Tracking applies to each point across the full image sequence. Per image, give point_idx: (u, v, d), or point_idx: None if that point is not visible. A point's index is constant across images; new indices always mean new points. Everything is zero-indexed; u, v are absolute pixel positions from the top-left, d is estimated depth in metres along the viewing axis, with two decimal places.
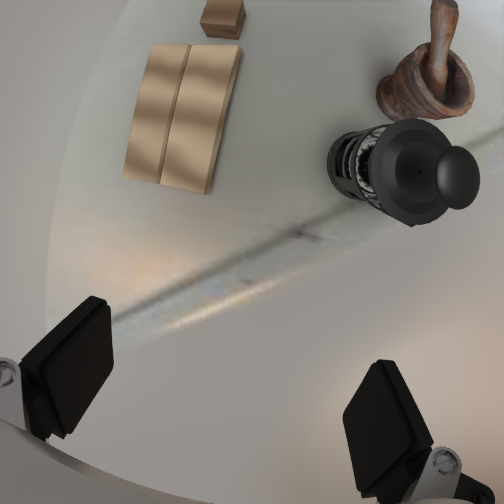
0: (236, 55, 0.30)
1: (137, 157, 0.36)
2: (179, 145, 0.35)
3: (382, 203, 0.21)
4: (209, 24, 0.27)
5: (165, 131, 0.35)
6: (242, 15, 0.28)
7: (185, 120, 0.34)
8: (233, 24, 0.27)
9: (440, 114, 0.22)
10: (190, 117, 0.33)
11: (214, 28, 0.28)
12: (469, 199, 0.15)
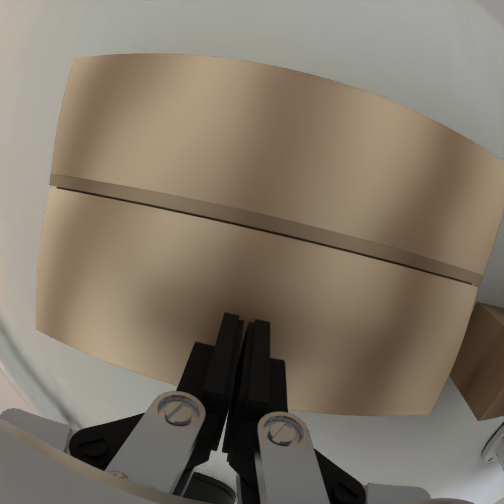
0: (407, 413, 0.11)
1: (119, 97, 0.09)
2: (144, 260, 0.10)
3: None
4: None
5: (199, 199, 0.10)
6: None
7: (230, 285, 0.10)
8: (481, 418, 0.09)
9: None
10: (241, 305, 0.10)
11: (494, 361, 0.10)
12: None
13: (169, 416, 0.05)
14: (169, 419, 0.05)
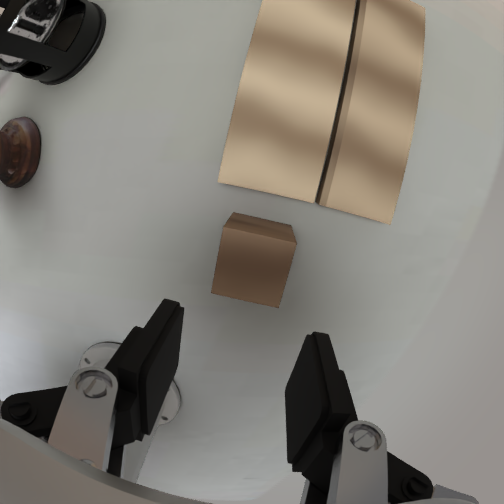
0: (222, 160, 0.19)
1: (405, 23, 0.15)
2: (326, 16, 0.15)
3: None
4: (276, 236, 0.18)
5: (359, 45, 0.16)
6: None
7: (317, 49, 0.16)
8: (225, 229, 0.17)
9: None
10: (308, 53, 0.16)
11: (268, 230, 0.19)
12: None
13: (87, 391, 0.05)
14: (87, 393, 0.05)
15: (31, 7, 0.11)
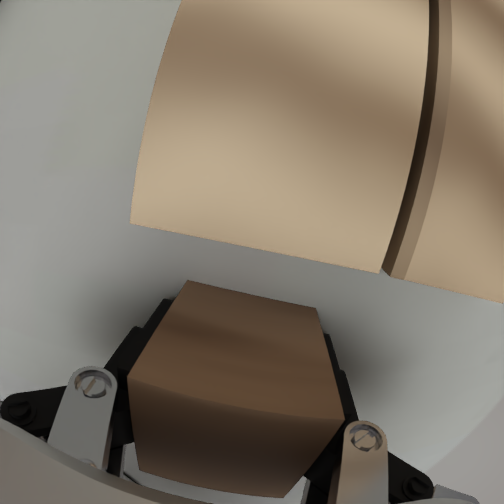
0: (140, 166, 0.07)
1: None
2: None
3: None
4: (286, 397, 0.05)
5: None
6: None
7: None
8: (134, 384, 0.05)
9: None
10: None
11: (265, 363, 0.06)
12: None
13: (86, 391, 0.05)
14: (86, 393, 0.05)
15: None
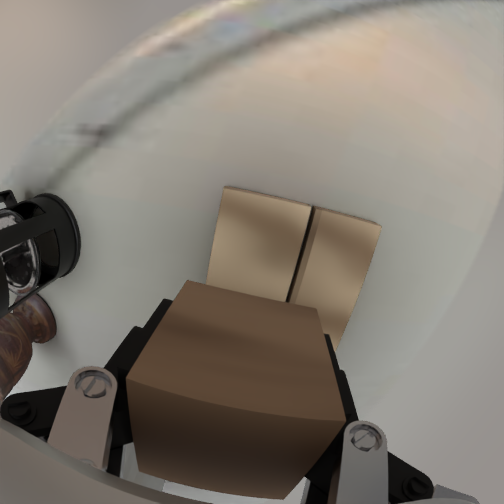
0: None
1: (350, 256, 0.23)
2: (269, 268, 0.23)
3: None
4: (287, 399, 0.05)
5: (298, 291, 0.24)
6: None
7: None
8: (133, 386, 0.05)
9: None
10: None
11: (265, 364, 0.06)
12: None
13: (86, 391, 0.05)
14: (86, 393, 0.05)
15: None
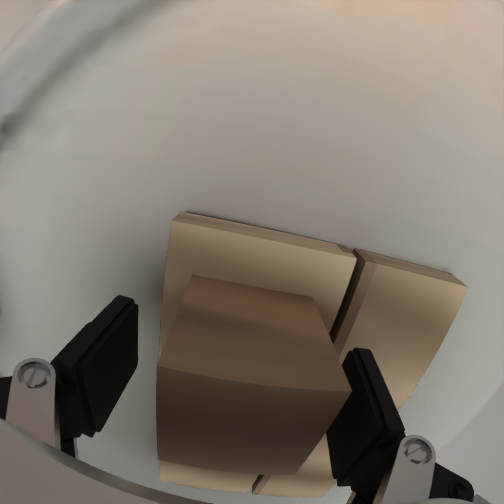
0: (160, 471, 0.16)
1: (413, 340, 0.11)
2: None
3: None
4: (300, 374, 0.06)
5: None
6: None
7: None
8: (164, 372, 0.06)
9: None
10: None
11: (276, 346, 0.07)
12: None
13: (29, 383, 0.05)
14: (30, 385, 0.05)
15: None
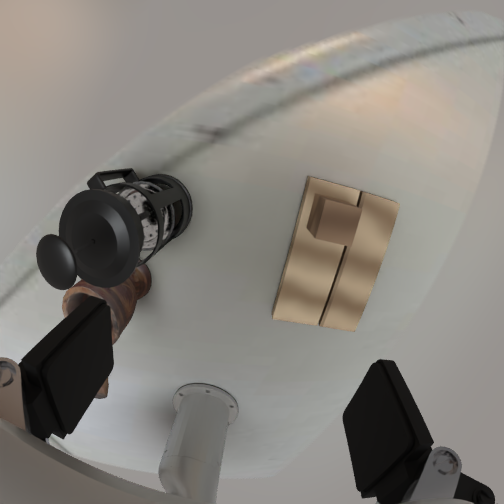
0: (274, 309, 0.40)
1: (382, 222, 0.36)
2: None
3: (123, 206, 0.21)
4: (351, 205, 0.31)
5: None
6: (312, 222, 0.34)
7: (327, 252, 0.37)
8: (327, 201, 0.30)
9: (88, 284, 0.29)
10: (321, 255, 0.37)
11: (344, 203, 0.32)
12: (41, 246, 0.16)
13: None
14: None
15: (138, 197, 0.32)
